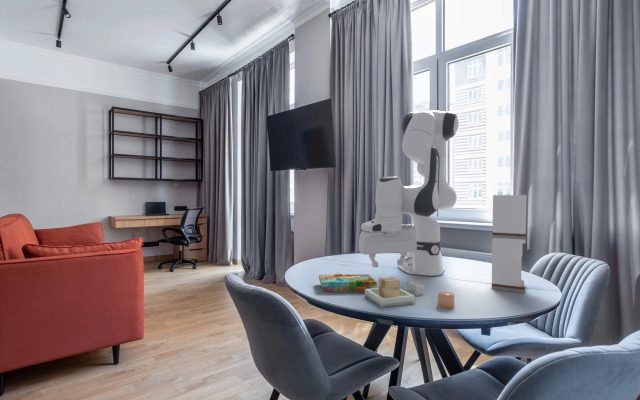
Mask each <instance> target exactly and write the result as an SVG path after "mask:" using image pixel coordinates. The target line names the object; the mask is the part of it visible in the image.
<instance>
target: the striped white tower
mask: <svg viewBox="0 0 640 400" xmlns="http://www.w3.org/2000/svg"><path fill="white" fill-rule="evenodd" d="M526 229H527V195H526V194H520V195H519V194H512V195H511V194H509V195H507V194H504V195H503V194H493V195H492V238H491V241H492V243H491V244H492V245H491V248H492V249H491V290H497V291H505V292H513V293H522V294H525V293H526V292H525V291H526V288H525V286H526V285H525V280H524V279H522V259H523V244H526V241H527V239H526V238H527V235H526V233H527V230H526Z"/></svg>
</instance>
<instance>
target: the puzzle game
mask: <svg viewBox="0 0 640 400" xmlns="http://www.w3.org/2000/svg"><path fill="white" fill-rule="evenodd" d="M318 279H319V283H320V286H321V288H322V290H323V292H325V293H329V292H330V293H334V292H335V293H336V292H337V293H338V292H365V289H368V288H370V287H371V288H373V287H377V285H378V284H377V283H378V282H377V281H376V280H375V278H374V277H373V276H372V275H371V274H369V273H367V274H365V273H364V274H362V273H361V274H359V273H358V274H357V273H356V274H349V273H348V274H342V273H333V274H330V273H329V274H324V273H323V274H322V273H321V274H319V275H318Z"/></svg>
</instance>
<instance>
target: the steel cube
mask: <svg viewBox="0 0 640 400" xmlns="http://www.w3.org/2000/svg"><path fill="white" fill-rule="evenodd" d="M406 292H408V293H410V294H412V295H414V296H415V298H416V297H420V296H423V295H424V282H423V283H422V282H419V281H409V282H406Z"/></svg>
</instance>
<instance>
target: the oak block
mask: <svg viewBox="0 0 640 400" xmlns="http://www.w3.org/2000/svg"><path fill="white" fill-rule="evenodd" d="M400 280H401V279H399V278H396V277H394V276H383V277H378V288H379V296H381V297H383V298H390V297H399V296H400V289H401V287H400V286H401V285H400V284H401V283H400V282H401V281H400Z"/></svg>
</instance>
